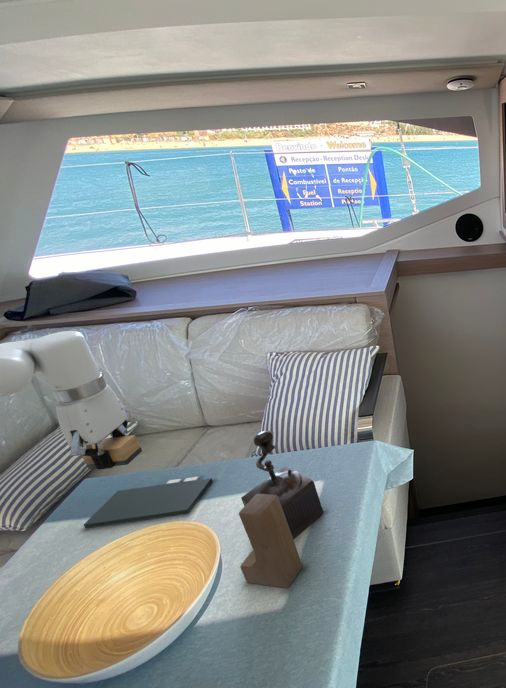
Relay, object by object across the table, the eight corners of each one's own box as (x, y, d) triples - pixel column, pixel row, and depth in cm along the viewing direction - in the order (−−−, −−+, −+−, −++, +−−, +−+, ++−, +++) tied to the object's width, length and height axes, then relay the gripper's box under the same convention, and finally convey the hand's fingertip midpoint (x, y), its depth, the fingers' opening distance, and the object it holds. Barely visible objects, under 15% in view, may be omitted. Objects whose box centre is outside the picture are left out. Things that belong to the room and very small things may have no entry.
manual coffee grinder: (327, 510, 92) (308, 444, 86) (280, 550, 83) (254, 481, 77) (286, 486, 100) (265, 425, 94) (239, 521, 91) (213, 455, 85)
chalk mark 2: (186, 478, 105) (186, 480, 105) (183, 481, 104) (183, 483, 104) (198, 476, 105) (199, 478, 105) (195, 479, 104) (196, 481, 104)
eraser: (88, 469, 90) (79, 452, 89) (105, 455, 95) (97, 439, 93) (127, 464, 91) (119, 448, 89) (142, 450, 95) (135, 434, 94)
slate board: (85, 528, 93) (83, 524, 92) (119, 493, 102) (117, 490, 102) (188, 513, 94) (186, 509, 94) (213, 480, 104) (211, 477, 103)
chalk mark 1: (168, 480, 104) (169, 482, 105) (165, 483, 103) (166, 485, 103) (181, 478, 105) (182, 480, 105) (178, 482, 103) (179, 483, 104)
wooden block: (246, 583, 77) (214, 510, 71) (263, 561, 81) (235, 490, 75) (288, 589, 76) (260, 515, 69) (303, 566, 80) (278, 494, 73)
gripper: (95, 371, 94) (127, 437, 100) (20, 415, 78) (63, 490, 84) (130, 367, 95) (159, 433, 101) (63, 410, 79) (102, 485, 85)
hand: (115, 458), depth 93 cm, fingers closed on eraser, 4 cm apart
